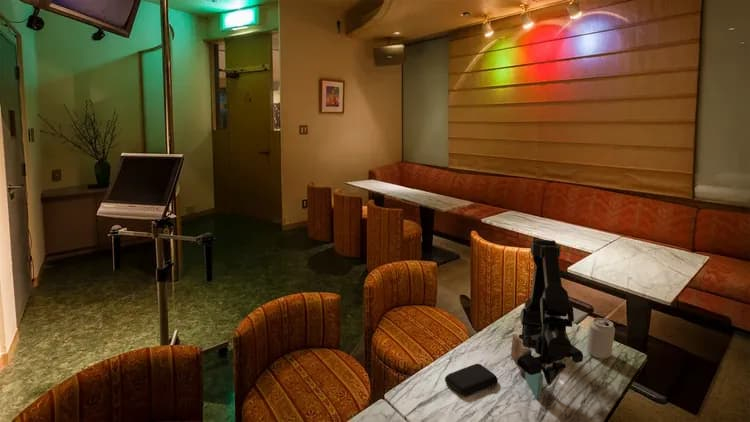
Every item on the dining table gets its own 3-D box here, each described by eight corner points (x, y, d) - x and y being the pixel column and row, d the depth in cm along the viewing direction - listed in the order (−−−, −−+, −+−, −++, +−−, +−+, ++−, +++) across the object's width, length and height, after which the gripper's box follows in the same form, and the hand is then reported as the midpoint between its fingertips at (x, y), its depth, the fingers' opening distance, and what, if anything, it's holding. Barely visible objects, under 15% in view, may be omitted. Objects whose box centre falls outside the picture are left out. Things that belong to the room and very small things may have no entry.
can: (613, 361, 145) (619, 328, 142) (589, 358, 147) (594, 326, 144) (607, 349, 152) (611, 317, 149) (583, 346, 154) (588, 315, 151)
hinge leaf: (519, 371, 139) (521, 350, 137) (527, 371, 139) (529, 350, 137) (533, 398, 126) (536, 375, 125) (542, 398, 126) (545, 375, 125)
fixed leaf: (530, 377, 137) (533, 352, 134) (522, 377, 136) (524, 353, 134) (516, 355, 148) (518, 332, 146) (508, 355, 148) (510, 332, 146)
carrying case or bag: (465, 402, 126) (502, 386, 133) (465, 393, 125) (503, 377, 132) (441, 382, 135) (478, 368, 142) (442, 373, 134) (478, 360, 141)
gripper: (558, 317, 135) (555, 362, 139) (507, 329, 130) (504, 375, 134) (586, 335, 125) (581, 383, 129) (531, 348, 119) (528, 398, 123)
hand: (548, 384), depth 129 cm, fingers closed
